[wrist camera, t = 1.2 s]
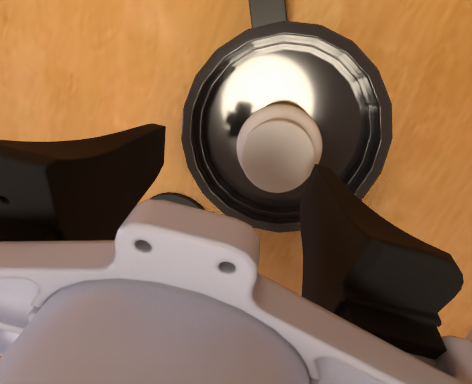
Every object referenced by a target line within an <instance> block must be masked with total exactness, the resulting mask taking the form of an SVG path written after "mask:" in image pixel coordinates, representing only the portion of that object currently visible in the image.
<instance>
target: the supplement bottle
mask: <svg viewBox="0 0 472 384" xmlns="http://www.w3.org/2000/svg"><path fill="white" fill-rule="evenodd" d="M321 154H322V138H321V133H320V131H319V128H318V126H317V124H316V122H315V121H314V120H313V118H312V117H311V116H310V115H309V114H308V113H307V112H306V111H305V110H304V109H303V108H302V107H300V106H298V105H296V104H294V103H291V102H284V101H281V102H274V103H271V104H268V105H266V106H265V107H263V108H261V109H259V110H257V111H256V112H254V113H253V114H252V115H251V116H250V117H249V118H248V119H247V120H246V121H245V123H244V124H243V126H242V128H241V130H240V132H239V135H238V139H237V156H238V160H239V163H240V165H241V167H242V169H243V171H244V173H245V175H246V176H247V178H248V179H249V180H250V181H251V182H252V183H253V184H254V185H255V186H257V187H258V188H260V189H262V190H265V191H268V192H273V193H282V192H287V191H290V190H293V189H295V188H297V187H298V186H300V185H301V184H302V183H303V182H304V181H305V180H306V179H307V178H308V177H309V176H310V174H311V172H312V169H313V167H314V164H318V163H319V161H320V158H321Z"/></svg>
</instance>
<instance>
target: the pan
mask: <svg viewBox="0 0 472 384" xmlns="http://www.w3.org/2000/svg"><path fill="white" fill-rule="evenodd" d="M281 101H284V102H291V103H294V104H296V105H298V106H300V107H302V108H303V109H304V110H305V111H306V112H307V113H308V114H309V115H310V116H311V117H312V118H313V120H314V121H315V122H316V124H317V126H318V128H319V131H320V133H321V138H322V154H321V158H320V161H319V163H318V164H319V165H323V166H327V167H329V168H330V169H331V170H332V171H333V172H334V173H335V174H336V175H337V176H338V177H339V179H340V180H341V181H342V182H343V183H344V184H345V185H346V186H347V187H348V188H349V189H350V190H351V191H352V192H353V193H354V194H355V195H356V196H357V197H358V198H359V199H360V200H362V199H363V198H364V196H365V195H366V193H367V192H368V190H369V189H370V188H371V186H372V185H373V183H374V182H375V181H376V179H377V178H378V176H379V175H380V174H381V171H382V169H383V166H384V163H385V160H386V157H387V153H388V150H389V147H390V144H391V141H392V104H391V101H390V98H389V96H388V93H387V90H386V88H385V85H384V83H383V80H382V78H381V75H380V72H379V70H377V67H376V66H375V65H374V64H373V63H372V62H371V61H370V59H369V58H368V57H367V56H366V55H365V54H364V53H363V52H362V51H361V49H360V48H359V47H358V46H357V45H356V44H355V43H354V42H353V41H351V40H349V39H347V38H346V37H344V36H342V35H340V34H338V33H336V32H334V31H332V30H330V29H328V28H326V27H324V26H322V25H319V24H309V23H300V22H290V21H279V22H275V23H271V24H267V25H263V26H259V27H255V28H251V29H248V30H246V31H244V32H243V33H241V34H240V35H238V36H237V37H235V38H233V39H232V40H230V41H229V42H227V43H226V44H224V45H223V46H221V47H220V48H218V49H217V50H216V51H215V52H214V53H213V55H212V56H211V57H210V58H209V60H208V61H207V62H206V63H205V65H204V66H203V67H202V68H201V70H200V71H199V72H198V73H197V75H196V76H195V78H194V81H193V84H192V86H191V89H190V92H189V94H188V97H187V99H186V102H185V105H184V108H183V120H182V136H181V140H182V144H183V149H184V153H185V157H186V161H187V165H188V169H189V171H190V172H191V174H192V176H193V178H194V179H195V181H196V183H197V184H198V186H199V188H200V190H201V191H202V193H203V194H204V195H205V196H206V197H207V198H208V199H209V200H210V201H211V202H212V203H213V204H214V205H215V206H216V207H217V208H218V209H219V210H221V211H222V212H223V213H224V214H225V215H227V216H230V217H234V218H237V219H239V220H241V221H243V222H245V223H247V224H249V225H251V226H252V227H253V228H257V229H262V230H267V231H273V232H290V231H301V226H300V201H301V196H302V194H303V191H304V189H305V186H306V184H307V182H308V179H309V177H310V176H309V177H308V178H307V179H306V180H305V181H304V182H303V183H302V184H301V185H300V186H298V187H297V188H295V189H293V190H290V191H287V192H282V193H273V192H268V191H265V190H262V189H260V188H258V187H257V186H255V185H254V184H253V183H252V182H251V181H250V180H249V179H248V178H247V176H246V175H245V173H244V171H243V169H242V167H241V165H240V163H239V160H238V156H237V139H238V135H239V132H240V130H241V128H242V126H243V124H244V123H245V121H246V120H247V119H248V118H249V117H250V116H251V115H252V114H253V113H254V112H256V111H257V110H259V109H261V108H263V107H265V106H266V105H268V104H271V103H274V102H281Z"/></svg>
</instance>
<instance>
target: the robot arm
mask: <svg viewBox="0 0 472 384" xmlns="http://www.w3.org/2000/svg"><path fill="white" fill-rule="evenodd" d="M165 129H166V127H165V126H161V125H157V124H147V125H143V126H139V127H136V128H132V129H129V130H125V131H122V132H118V133H113V134H109V135H105V136H101V137H95V138H89V139H82V140H72V141H58V142H23V141H8V140H0V356H2V357H1V359H0V384H472V340H468V339H464V338H460V337H456V336H443V337H441V336H440V333H439V331H438V329H437V327H439V326H440V325H441V320H440V318H439V316H438V312H439V311H440V310H441V309H442V308H443V307H444V306H445V305H446V304H448V303H449V302H450V301H451V300H452V299H453V298H454V297H455V296H456V295H457V293H458V292H459V291H460V290H461V288H462V285H463V282H464V281H463V274H462V273H461V271H460V269H459V268H458V266H457V264H456V263H455V261H454V260H453V258H452V256H451V255H450V254H449V253H447V252H444V251H442V250H440V249H438V248H436V247H433V246H431V245H429V244H427V243H425V242H423V241H421V240H419V239H417V238H415V237H413V236H411V235H409V234H408V233H406V232H404V231H402V230H401V229H399V228H397V227H396V226H394V225H393V224H391V223H390V222H388V221H387V220H385V219H384V218H382V217H381V216H379V215H378V214H377V213H375V212H374V211H373V210H372V209H370V208H369V207H368V206H367V205H365V204H364V203H363V202H362V201H361V200H360V199H359V198H358V197H357V196H356V195H355V194H354V193H353V192H352V191H351V190H350V189H349V188H348V187H347V186H346V185H345V184H344V183H343V182H342V181H341V180H340V179H339V177H338V176H337V175H336V174H335V173H334V172H333V171H332V170H331V169H330V168H329V167H327V166H323V165H319V164H314V167H313V169H312V172H311V174H310V177H309V179H308V182H307V184H306V186H305V189H304V191H303V194H302V196H301V201H300V226H301V236H302V246H303V284H302V296H300V295H298V294H296V293H295V292H293V291H291V290H289V289H287V288H285V287H283V286H281V285H280V284H278V283H276V282H274V281H272V280H270V279H268V278H267V277H265V276H263V275H261V274H259V273H258V265H259V256H260V237H259V235H258V234H257V233H256V231H255V230H254V229H253V227H252V226H251V225H249V224H247V223H245V222H243V221H241V220H239V219H237V218H234V217H230V216H226V215H222V214H218V213H214V212H210V211H206V210H202V209H198V208H194V207H190V206H186V205H182V204H178V203H174V202H170V201H166V200H151V199H147V200H145V201H143V202H142V203H140V204H138V205H137V203H138V202H139V201H140V199H141V198H142V197H143V195H144V194H145V193H146V191H147V190H148V189H149V187H150V186H151V185H152V183H153V182H154V181H155V179H156V178H157V176H158V174H159V172H160V170H161V168H162V166H163V164H164V149H165ZM133 208H134V209H133ZM436 326H437V327H436Z"/></svg>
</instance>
